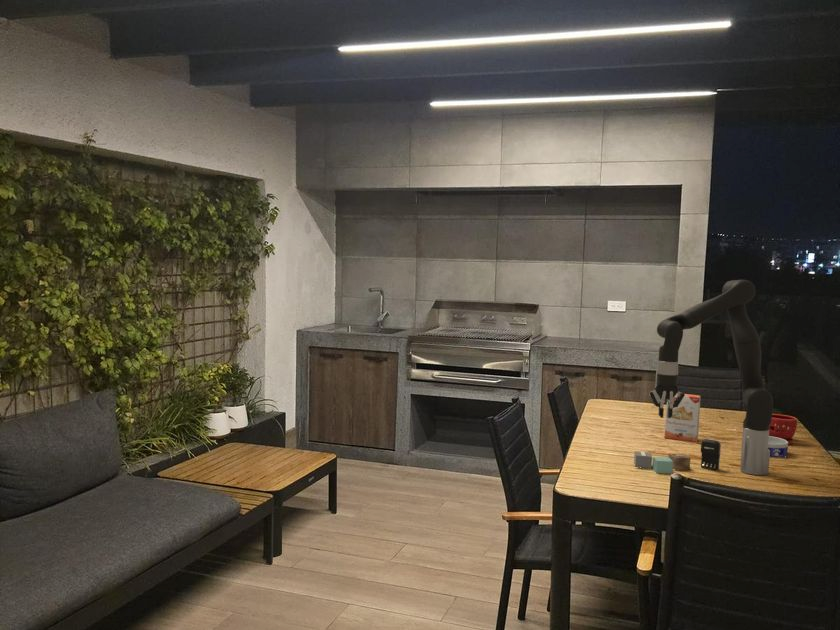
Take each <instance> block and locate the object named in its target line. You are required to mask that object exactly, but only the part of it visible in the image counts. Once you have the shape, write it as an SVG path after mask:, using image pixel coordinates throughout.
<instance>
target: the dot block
mask: <svg viewBox="0 0 840 630" xmlns="http://www.w3.org/2000/svg"><path fill="white" fill-rule="evenodd" d="M668 457H669V458H670V459H671V460H672V461H673V470H674V469H675V470H674V471H690V470H691V457H690V456H688V455H686V454H684V453H668Z"/></svg>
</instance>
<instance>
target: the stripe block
mask: <svg viewBox="0 0 840 630" xmlns="http://www.w3.org/2000/svg"><path fill="white" fill-rule="evenodd" d="M633 458H634V459H633V465H634V464H635V465H634V468H635V467H641V468H640V469H643V468H651V469H652V465H653V456H652V454H651V452H645V451H634V457H633Z"/></svg>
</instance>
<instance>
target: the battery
mask: <svg viewBox="0 0 840 630" xmlns="http://www.w3.org/2000/svg"><path fill="white" fill-rule="evenodd" d="M721 449H722V443H721V442H720V441H719V440H717V439H712V438H711V439H710V438H705V439H703V440H702V441H701V443H700V453H701V460H700V467H701V468H703V469H708V470H713V471H717V470H720V461H721V452H722V450H721Z"/></svg>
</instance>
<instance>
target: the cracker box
mask: <svg viewBox="0 0 840 630" xmlns="http://www.w3.org/2000/svg"><path fill="white" fill-rule="evenodd" d="M684 394H685V396H684V397H683V399H682V401H681V402H680V404H679V405H678V407H674V408H673V412H672V417H671V418H668V417H667V410H668V400H667V399H666V408H665V409H666V410H665V422H664V423H665V424H664V426H665V427H664V438H665V439H669V440H677V441H683V442H690V443H697V442H698V440H699V428H700V427H699V426H700V416H701V415H700V414H701V413H700V412H701V397H702V396H701V395H698V394H689V393H688V394H687V393H684ZM676 398H677V394H676V395H675V396H674V398H673V403H674V402H675V400H676Z"/></svg>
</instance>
